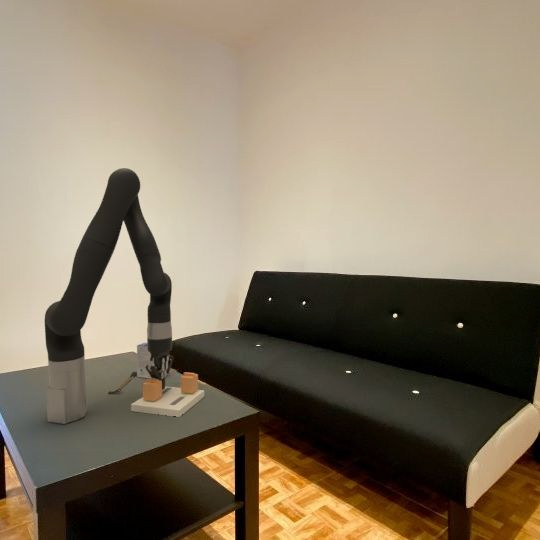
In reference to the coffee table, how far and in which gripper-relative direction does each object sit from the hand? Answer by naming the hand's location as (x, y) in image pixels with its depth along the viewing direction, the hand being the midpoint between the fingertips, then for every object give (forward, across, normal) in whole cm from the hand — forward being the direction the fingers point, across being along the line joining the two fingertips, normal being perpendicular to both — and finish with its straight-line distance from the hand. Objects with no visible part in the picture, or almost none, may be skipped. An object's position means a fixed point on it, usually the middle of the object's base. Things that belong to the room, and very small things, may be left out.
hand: (160, 389), depth 124 cm
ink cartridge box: (+4, +19, +16) cm, 25 cm away
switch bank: (+3, -2, -4) cm, 6 cm away
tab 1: (+1, -5, 0) cm, 5 cm away
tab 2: (+1, +4, -8) cm, 9 cm away
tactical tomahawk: (+4, +10, +19) cm, 22 cm away
